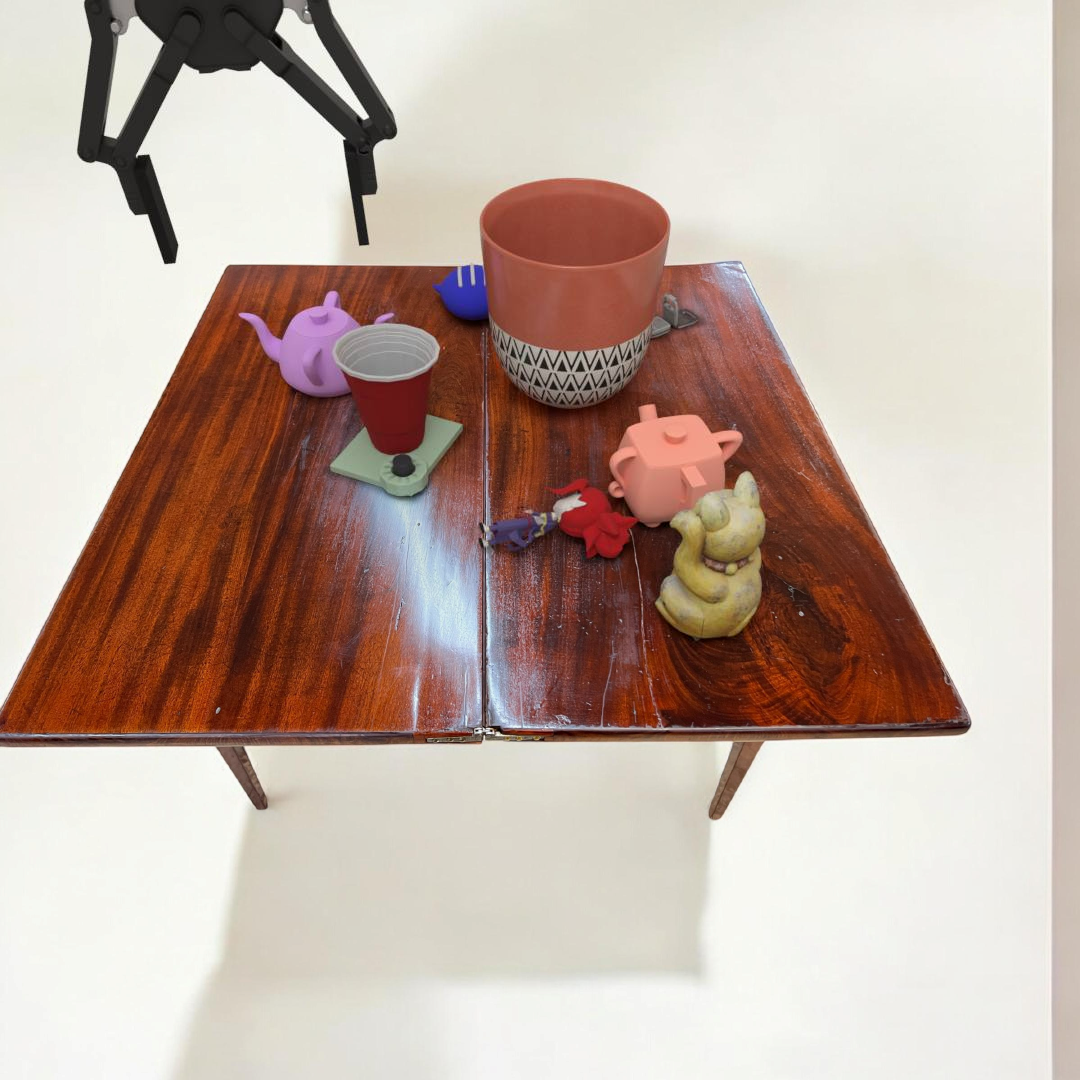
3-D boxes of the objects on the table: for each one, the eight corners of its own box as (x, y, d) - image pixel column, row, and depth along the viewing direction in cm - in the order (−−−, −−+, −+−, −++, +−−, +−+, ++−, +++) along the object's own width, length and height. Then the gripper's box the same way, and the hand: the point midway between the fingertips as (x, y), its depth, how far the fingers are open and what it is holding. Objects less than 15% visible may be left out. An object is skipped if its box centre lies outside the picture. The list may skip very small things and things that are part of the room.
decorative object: (438, 242, 114) (512, 255, 114) (436, 281, 118) (508, 293, 118) (424, 286, 107) (504, 300, 107) (423, 325, 111) (499, 338, 112)
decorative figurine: (708, 563, 83) (734, 446, 73) (777, 612, 79) (815, 495, 68) (641, 616, 79) (658, 499, 68) (710, 671, 75) (740, 555, 64)
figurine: (471, 526, 86) (610, 496, 89) (493, 598, 82) (638, 564, 85) (472, 490, 80) (620, 459, 84) (496, 565, 76) (651, 530, 80)
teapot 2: (637, 449, 95) (645, 377, 88) (737, 488, 91) (753, 416, 84) (585, 511, 88) (589, 438, 81) (690, 556, 84) (704, 483, 77)
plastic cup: (468, 431, 96) (461, 339, 87) (403, 484, 90) (389, 391, 81) (395, 396, 100) (382, 305, 91) (329, 445, 94) (308, 352, 85)
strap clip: (648, 340, 110) (651, 311, 107) (634, 329, 112) (637, 300, 109) (700, 322, 113) (705, 293, 110) (686, 311, 115) (690, 282, 112)
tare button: (407, 479, 88) (405, 468, 87) (390, 474, 89) (388, 463, 88) (416, 467, 90) (415, 456, 89) (400, 462, 90) (398, 451, 89)
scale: (414, 507, 89) (412, 489, 87) (324, 478, 92) (320, 461, 90) (471, 432, 97) (470, 415, 95) (386, 408, 100) (384, 391, 98)
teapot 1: (403, 376, 104) (394, 312, 98) (301, 421, 98) (285, 356, 92) (352, 333, 111) (341, 271, 104) (254, 373, 105) (236, 309, 98)
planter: (526, 460, 94) (525, 284, 78) (463, 365, 106) (452, 196, 90) (680, 416, 99) (707, 243, 84) (603, 330, 111) (615, 165, 96)
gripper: (-86, -95, 42) (79, 289, 58) (416, -113, 46) (446, 254, 61) (-47, -124, 47) (95, 237, 63) (403, -138, 51) (433, 207, 66)
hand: (269, 246), depth 62 cm, fingers open, 13 cm apart
